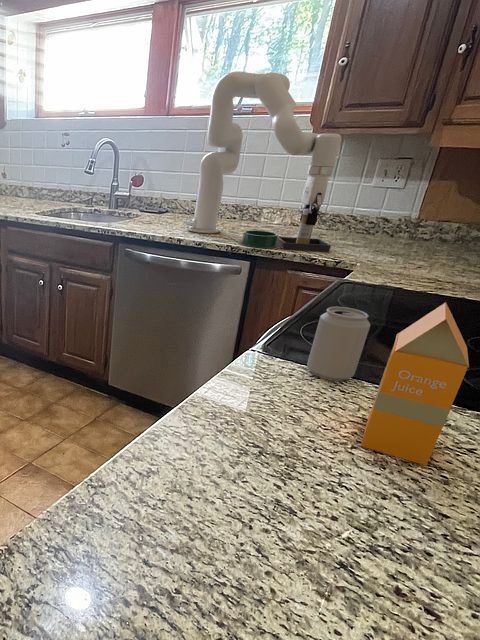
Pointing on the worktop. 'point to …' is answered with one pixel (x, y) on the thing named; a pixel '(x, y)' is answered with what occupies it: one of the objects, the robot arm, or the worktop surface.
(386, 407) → the orange juice
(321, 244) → the tray
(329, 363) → the can
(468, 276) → the worktop surface
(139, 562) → the worktop surface
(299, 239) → the sprinkles bottle
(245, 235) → the bowl
